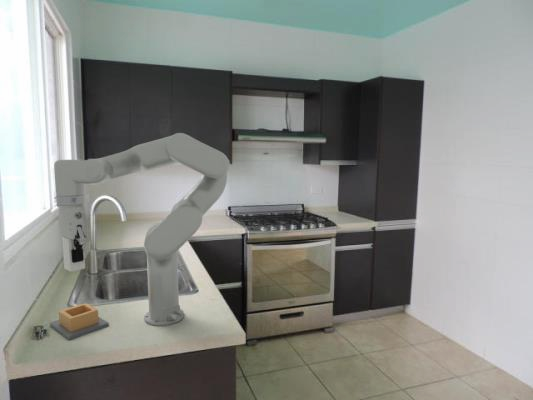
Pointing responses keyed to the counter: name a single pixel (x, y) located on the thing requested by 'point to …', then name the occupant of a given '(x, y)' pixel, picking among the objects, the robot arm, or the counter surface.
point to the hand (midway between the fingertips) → (74, 259)
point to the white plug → (68, 256)
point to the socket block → (78, 321)
